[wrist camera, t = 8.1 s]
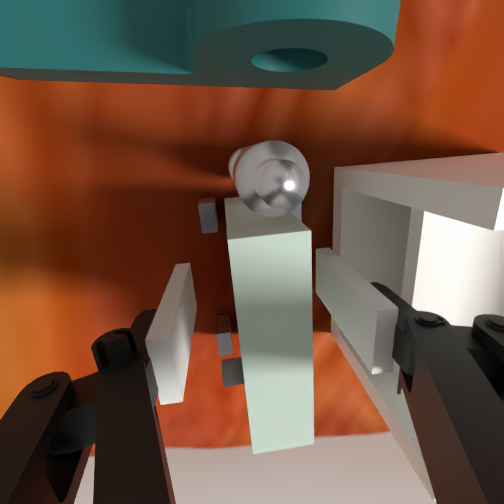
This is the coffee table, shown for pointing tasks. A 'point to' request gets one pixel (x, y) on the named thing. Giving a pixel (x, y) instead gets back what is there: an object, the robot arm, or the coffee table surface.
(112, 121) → the coffee table surface
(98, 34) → the bracket
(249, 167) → the small parts
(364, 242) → the cabinet
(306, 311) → the door
